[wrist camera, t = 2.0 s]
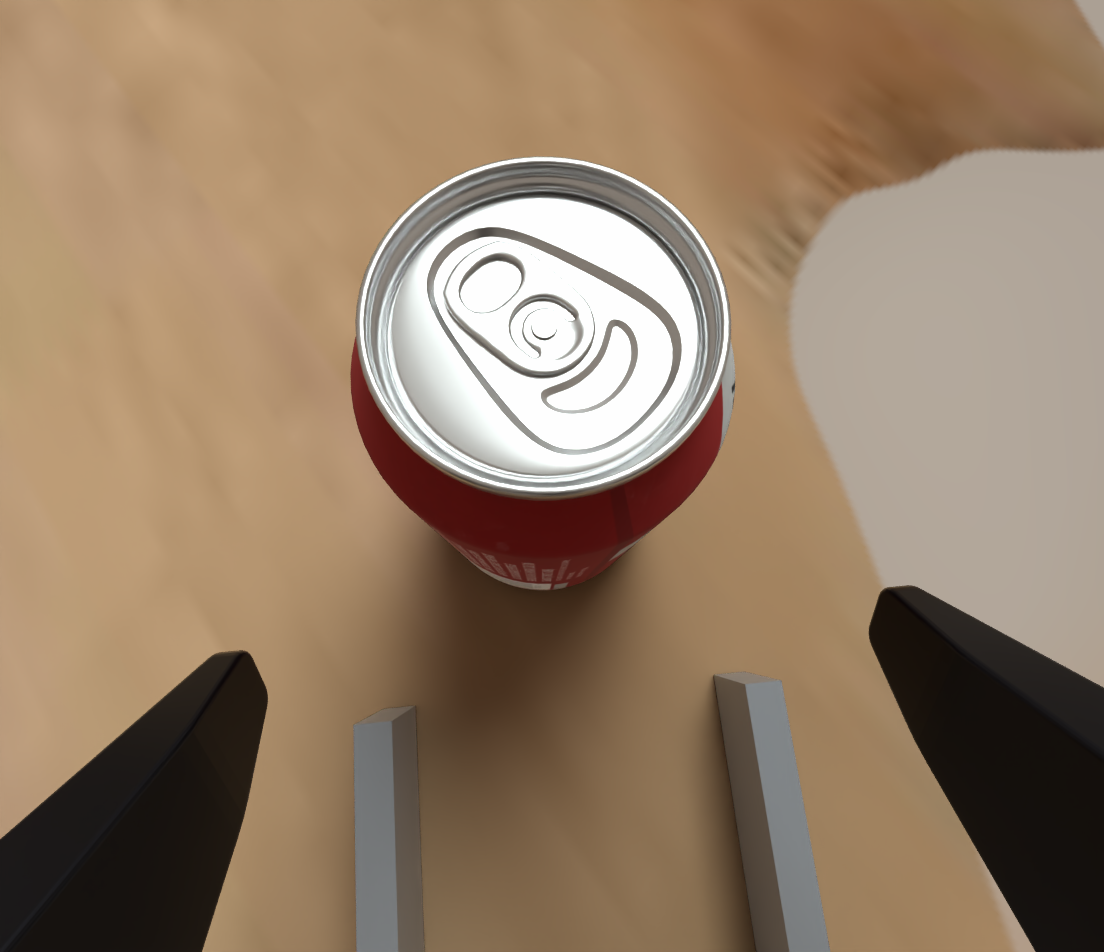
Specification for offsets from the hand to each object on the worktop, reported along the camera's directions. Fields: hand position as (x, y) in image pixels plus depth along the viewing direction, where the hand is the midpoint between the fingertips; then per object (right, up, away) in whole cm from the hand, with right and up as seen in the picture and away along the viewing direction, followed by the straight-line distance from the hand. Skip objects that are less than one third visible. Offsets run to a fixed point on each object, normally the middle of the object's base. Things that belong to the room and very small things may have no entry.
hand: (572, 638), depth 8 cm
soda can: (-1, +2, +12) cm, 12 cm away
